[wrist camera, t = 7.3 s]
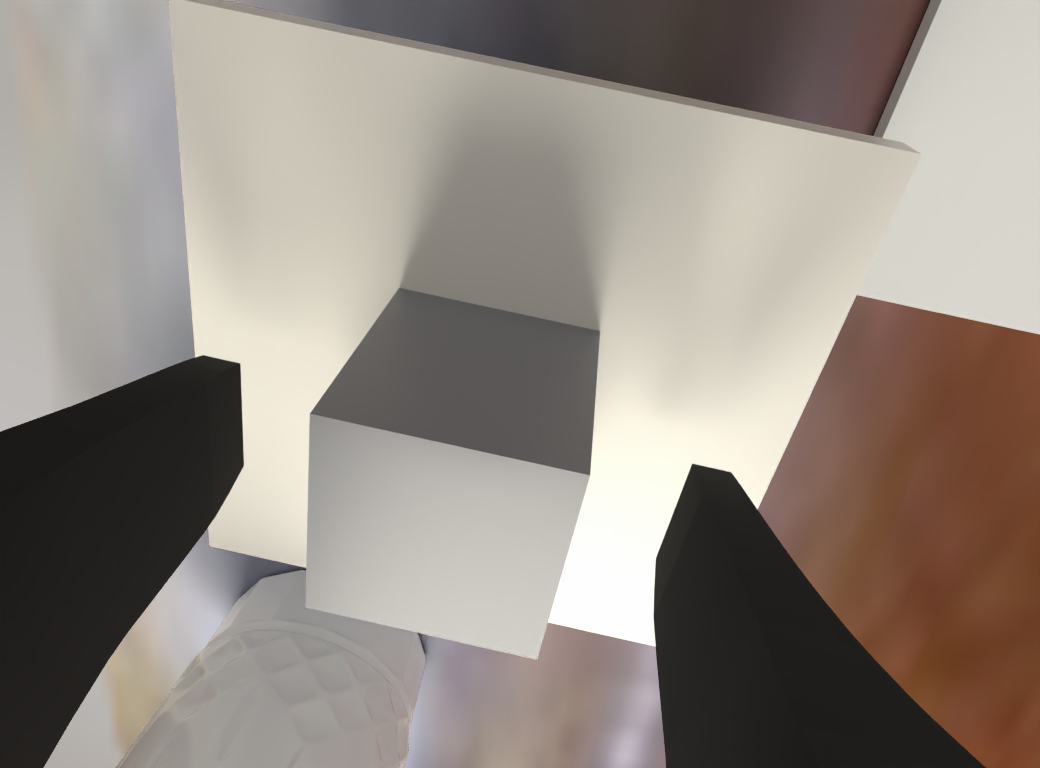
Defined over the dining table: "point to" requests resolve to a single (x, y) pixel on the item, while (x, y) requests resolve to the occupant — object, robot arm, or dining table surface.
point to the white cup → (288, 691)
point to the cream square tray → (967, 167)
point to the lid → (498, 312)
